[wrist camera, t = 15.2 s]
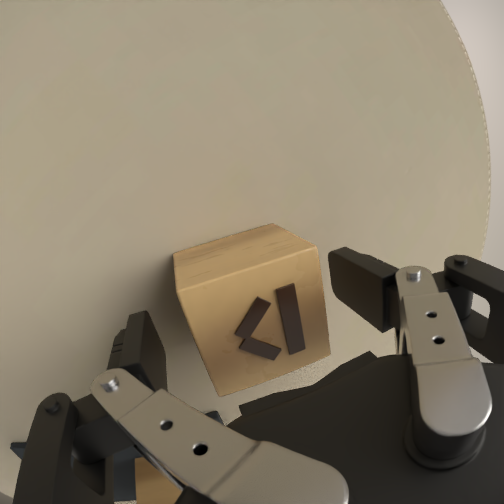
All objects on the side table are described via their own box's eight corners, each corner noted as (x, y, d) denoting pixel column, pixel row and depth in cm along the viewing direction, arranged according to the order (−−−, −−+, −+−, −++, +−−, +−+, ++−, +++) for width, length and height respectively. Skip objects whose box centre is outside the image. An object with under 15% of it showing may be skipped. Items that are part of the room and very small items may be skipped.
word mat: (11, 442, 11) (9, 448, 11) (217, 410, 15) (218, 417, 14) (73, 497, 14) (72, 502, 14) (249, 471, 17) (251, 476, 17)
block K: (172, 252, 12) (175, 292, 8) (273, 222, 13) (319, 246, 9) (203, 340, 13) (219, 400, 9) (291, 310, 14) (332, 356, 10)
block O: (134, 457, 13) (136, 511, 10) (200, 444, 14) (213, 499, 11) (164, 487, 15) (171, 533, 11) (222, 474, 16) (236, 521, 12)
